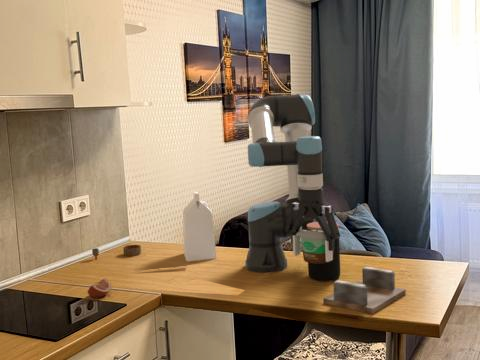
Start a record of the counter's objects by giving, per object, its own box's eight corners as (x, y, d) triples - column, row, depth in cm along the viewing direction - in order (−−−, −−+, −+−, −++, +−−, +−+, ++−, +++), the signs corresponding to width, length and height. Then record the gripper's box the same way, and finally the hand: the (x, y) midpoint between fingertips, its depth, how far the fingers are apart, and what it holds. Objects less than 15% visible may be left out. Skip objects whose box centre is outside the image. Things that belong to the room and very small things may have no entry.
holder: (323, 303, 171) (322, 280, 170) (358, 285, 186) (357, 264, 185) (372, 314, 160) (372, 289, 159) (405, 294, 175) (405, 271, 174)
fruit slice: (98, 291, 193) (97, 277, 192) (116, 293, 191) (115, 278, 190) (84, 300, 185) (82, 284, 184) (102, 301, 183) (101, 285, 182)
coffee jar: (316, 271, 204) (314, 220, 201) (345, 274, 198) (343, 222, 196) (303, 279, 195) (301, 226, 192) (333, 283, 189) (331, 228, 187)
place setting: (140, 264, 227) (139, 249, 226) (91, 265, 230) (90, 250, 229) (152, 252, 244) (151, 239, 244) (106, 253, 247) (105, 240, 246)
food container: (292, 262, 181) (291, 230, 179) (301, 257, 186) (299, 226, 184) (329, 266, 174) (328, 233, 173) (337, 261, 179) (336, 229, 178)
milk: (183, 255, 234) (179, 191, 231) (212, 253, 236) (208, 189, 233) (186, 263, 223) (182, 195, 219) (216, 260, 225) (212, 193, 221)
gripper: (272, 186, 182) (274, 255, 185) (337, 192, 167) (339, 266, 170) (286, 183, 188) (289, 249, 191) (351, 188, 172) (352, 260, 175)
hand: (312, 257), depth 180 cm, fingers closed on food container, 11 cm apart
